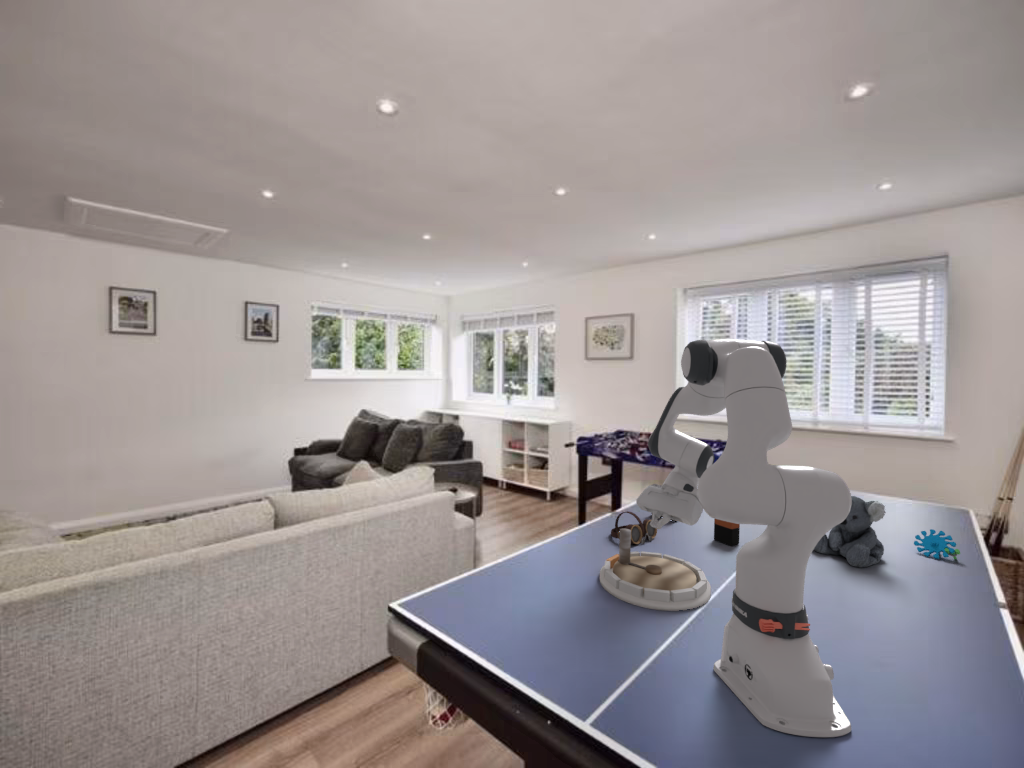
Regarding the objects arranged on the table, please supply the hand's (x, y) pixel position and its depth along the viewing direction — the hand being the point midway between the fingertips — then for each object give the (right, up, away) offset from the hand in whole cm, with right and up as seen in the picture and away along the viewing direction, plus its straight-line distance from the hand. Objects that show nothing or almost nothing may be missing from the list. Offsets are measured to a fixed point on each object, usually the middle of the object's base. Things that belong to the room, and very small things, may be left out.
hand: (654, 527), depth 136 cm
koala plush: (+64, -12, +10) cm, 66 cm away
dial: (-4, -10, -12) cm, 16 cm away
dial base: (-4, -11, -12) cm, 17 cm away
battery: (+30, -11, +20) cm, 38 cm away
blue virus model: (+92, -13, +11) cm, 93 cm away
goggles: (-1, -11, +23) cm, 26 cm away
